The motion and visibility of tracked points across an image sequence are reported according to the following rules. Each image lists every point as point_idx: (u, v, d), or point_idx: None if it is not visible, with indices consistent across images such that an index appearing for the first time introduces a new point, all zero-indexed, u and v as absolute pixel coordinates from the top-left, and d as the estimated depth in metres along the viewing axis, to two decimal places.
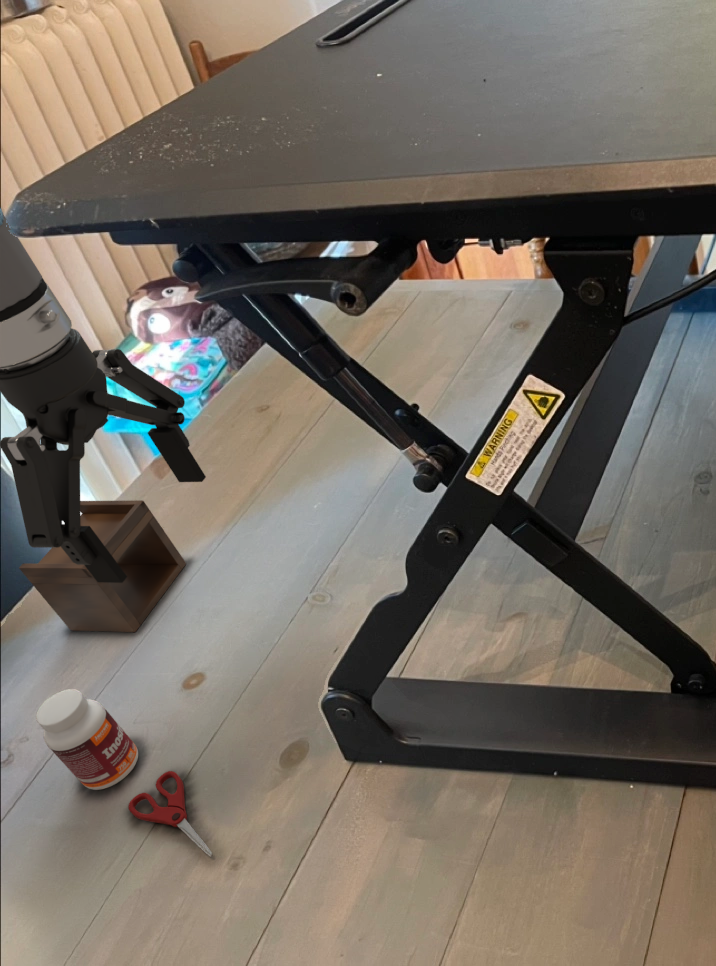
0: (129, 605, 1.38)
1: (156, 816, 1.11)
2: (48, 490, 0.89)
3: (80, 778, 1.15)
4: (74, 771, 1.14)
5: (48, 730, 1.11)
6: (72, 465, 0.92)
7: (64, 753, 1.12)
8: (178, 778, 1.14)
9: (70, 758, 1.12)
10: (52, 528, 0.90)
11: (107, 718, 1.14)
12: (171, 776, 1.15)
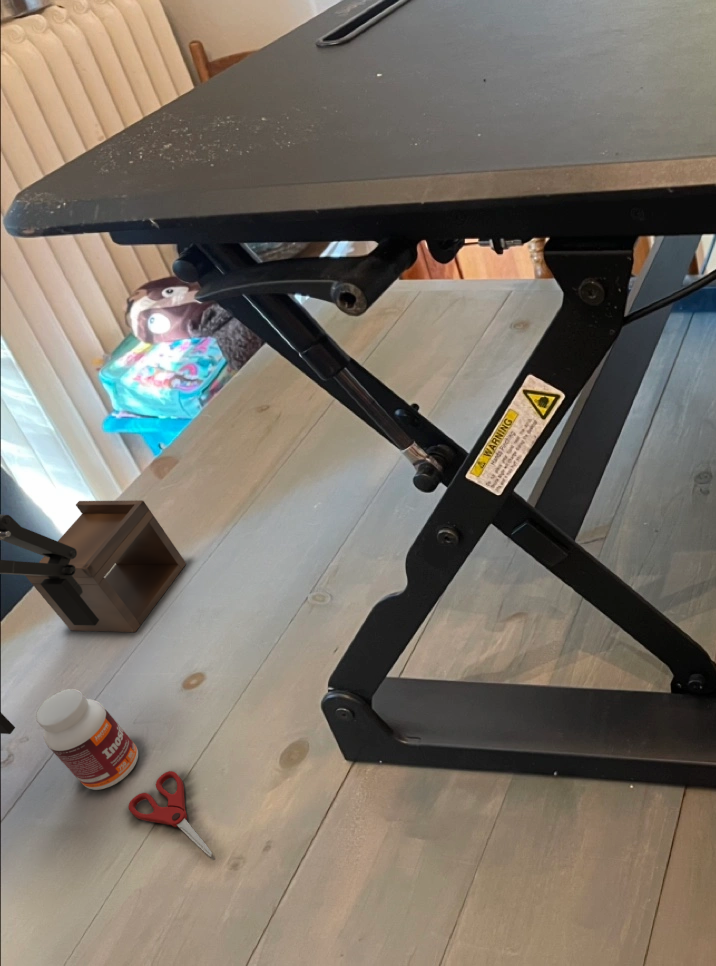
0: (129, 605, 1.38)
1: (156, 816, 1.11)
2: None
3: (80, 778, 1.15)
4: (74, 771, 1.14)
5: (48, 730, 1.11)
6: None
7: (64, 753, 1.12)
8: (178, 778, 1.14)
9: (70, 758, 1.12)
10: None
11: (107, 718, 1.14)
12: (171, 776, 1.15)
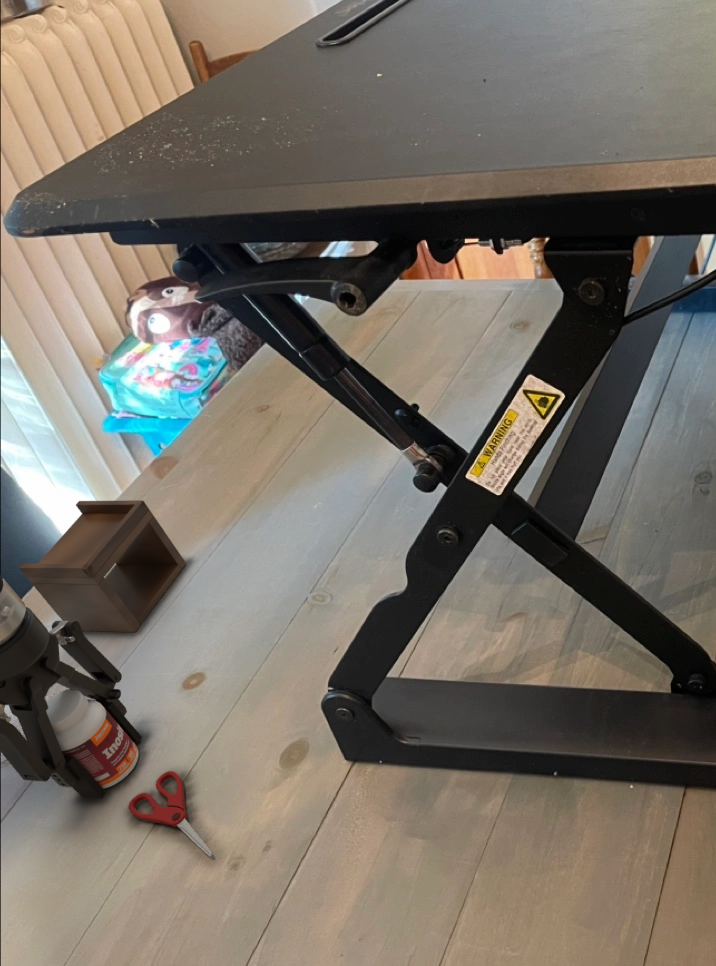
0: (129, 605, 1.38)
1: (156, 816, 1.11)
2: (25, 746, 1.06)
3: None
4: None
5: None
6: (41, 719, 1.08)
7: (64, 753, 1.12)
8: (178, 778, 1.14)
9: None
10: (39, 769, 1.08)
11: (107, 718, 1.14)
12: (171, 776, 1.15)
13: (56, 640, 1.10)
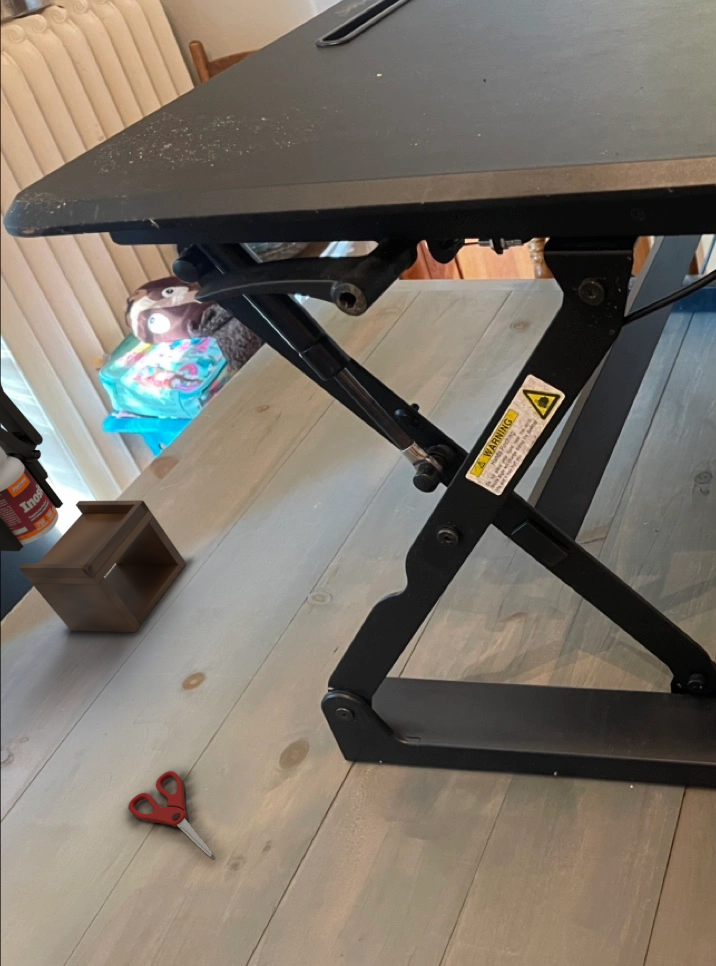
0: (129, 605, 1.38)
1: (156, 816, 1.11)
2: None
3: None
4: None
5: None
6: None
7: None
8: (178, 778, 1.14)
9: None
10: None
11: (25, 473, 1.17)
12: (171, 776, 1.15)
13: None
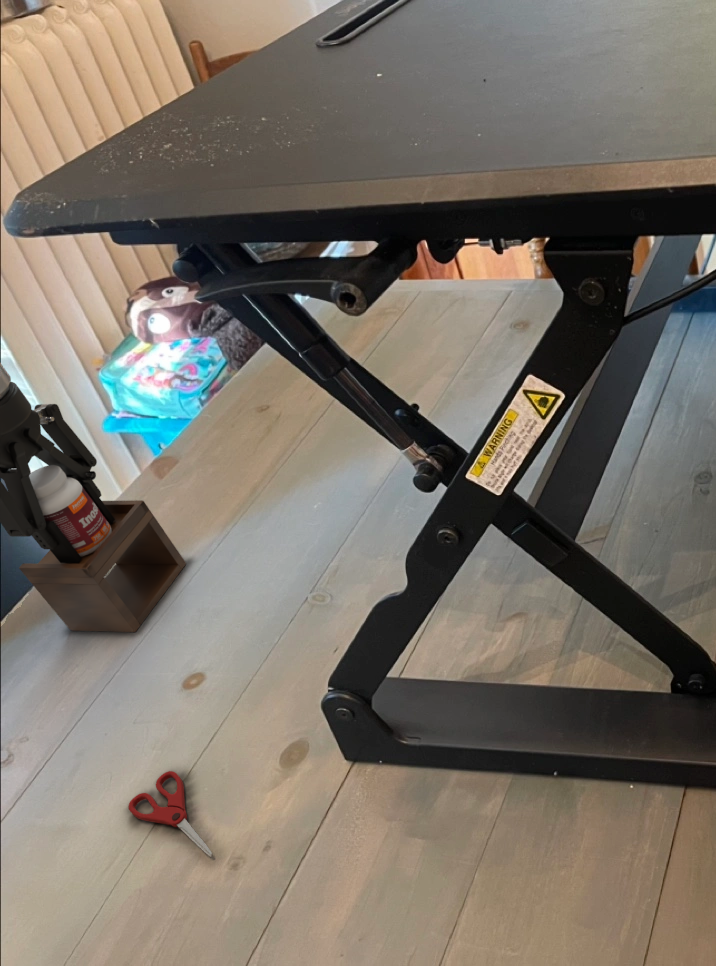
0: (129, 605, 1.38)
1: (156, 816, 1.11)
2: (10, 501, 1.22)
3: None
4: None
5: None
6: (24, 481, 1.24)
7: (45, 518, 1.28)
8: (178, 778, 1.14)
9: None
10: (22, 525, 1.24)
11: (83, 492, 1.31)
12: (171, 776, 1.15)
13: (38, 417, 1.26)
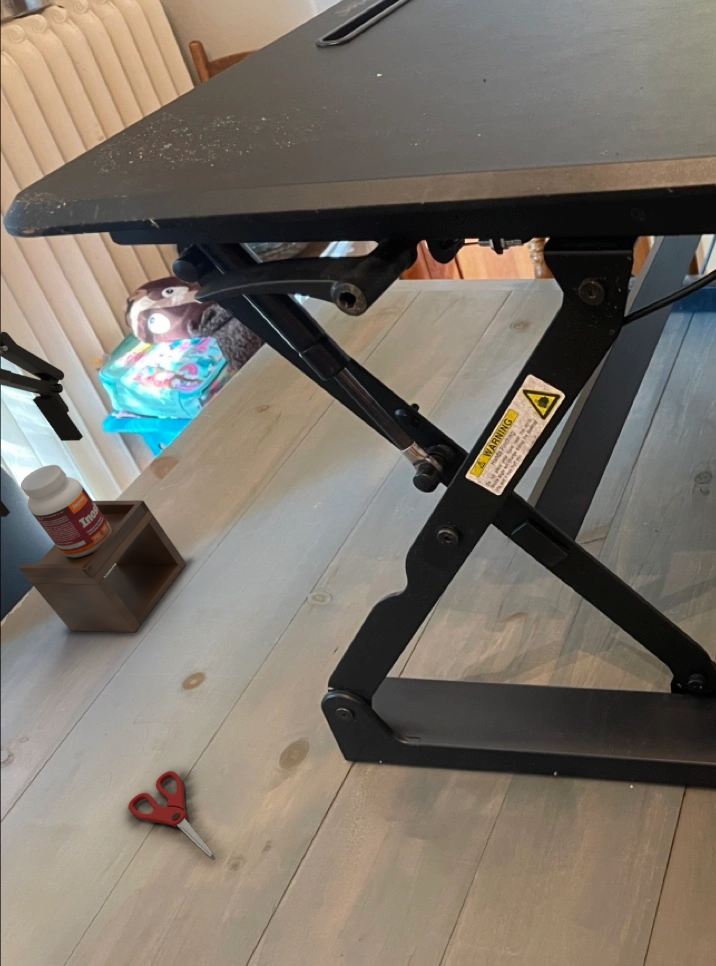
0: (129, 605, 1.38)
1: (156, 816, 1.11)
2: None
3: (60, 545, 1.31)
4: (54, 537, 1.30)
5: (31, 496, 1.27)
6: None
7: (46, 518, 1.28)
8: (178, 778, 1.14)
9: (51, 523, 1.28)
10: None
11: (83, 492, 1.31)
12: (171, 776, 1.15)
13: None
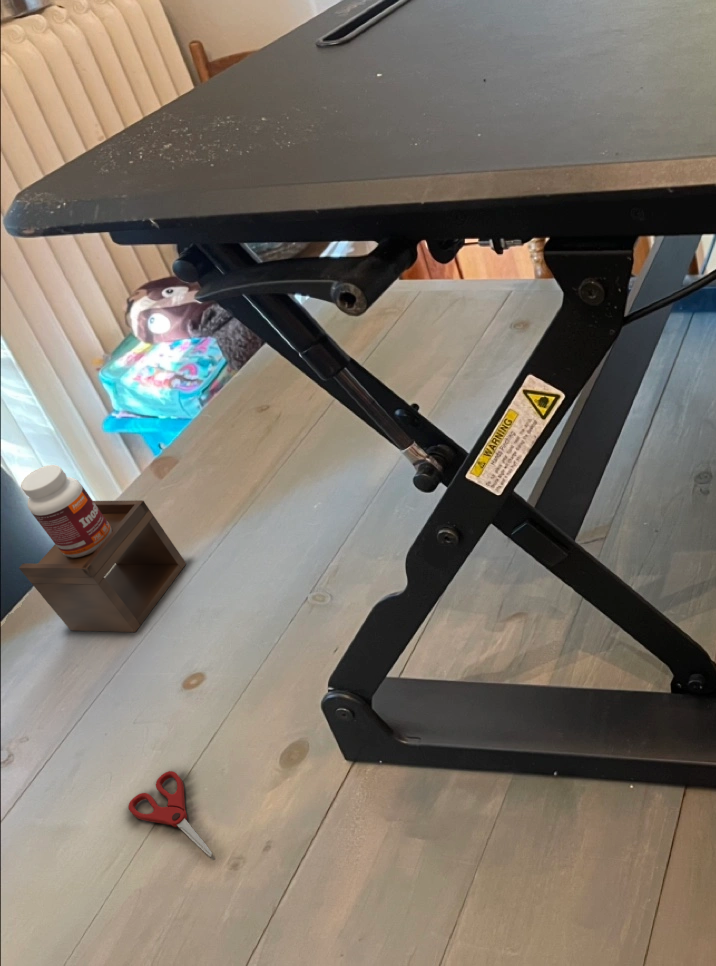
0: (129, 605, 1.38)
1: (156, 816, 1.11)
2: None
3: (60, 545, 1.31)
4: (54, 537, 1.30)
5: (31, 496, 1.27)
6: None
7: (46, 518, 1.28)
8: (178, 778, 1.14)
9: (51, 523, 1.28)
10: None
11: (83, 492, 1.31)
12: (171, 776, 1.15)
13: None
